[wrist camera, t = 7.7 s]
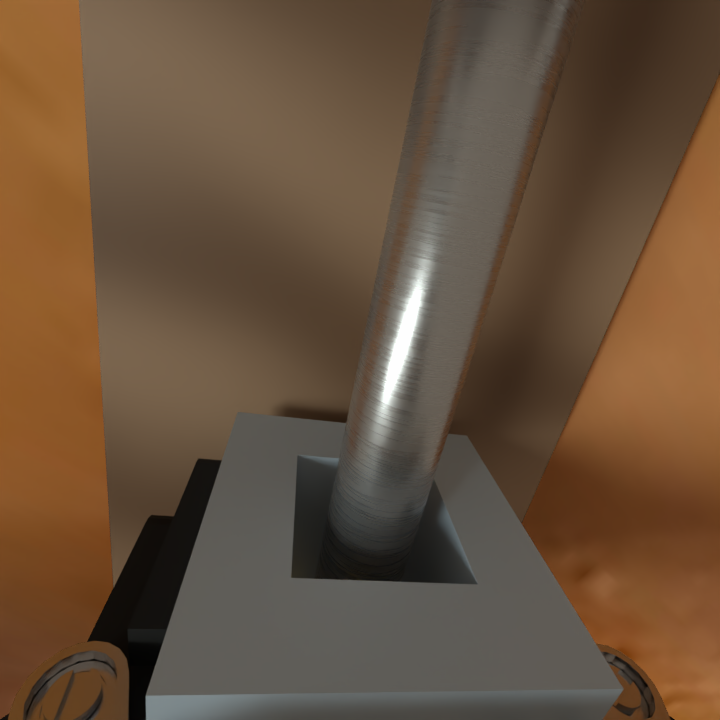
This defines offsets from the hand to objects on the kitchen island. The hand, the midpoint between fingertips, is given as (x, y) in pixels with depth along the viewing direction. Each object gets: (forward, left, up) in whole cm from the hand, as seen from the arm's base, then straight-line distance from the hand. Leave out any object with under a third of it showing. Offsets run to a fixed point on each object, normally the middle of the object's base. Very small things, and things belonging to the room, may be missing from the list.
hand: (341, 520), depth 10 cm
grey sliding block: (0, 0, -1) cm, 1 cm away
